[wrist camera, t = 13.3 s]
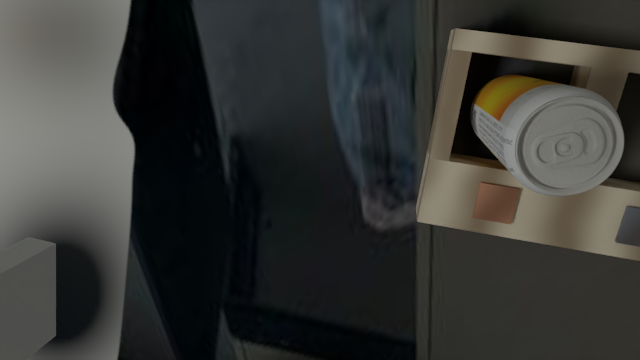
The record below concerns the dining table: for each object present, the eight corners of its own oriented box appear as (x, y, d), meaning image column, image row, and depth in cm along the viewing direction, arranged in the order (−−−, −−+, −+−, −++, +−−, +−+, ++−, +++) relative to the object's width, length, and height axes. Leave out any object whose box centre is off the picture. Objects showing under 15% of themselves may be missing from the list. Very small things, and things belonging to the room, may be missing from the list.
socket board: (415, 208, 42) (417, 222, 38) (451, 30, 38) (456, 28, 34) (682, 254, 39) (710, 274, 36) (754, 67, 35) (795, 69, 31)
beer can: (552, 136, 38) (642, 186, 24) (478, 155, 40) (521, 213, 26) (537, 64, 37) (622, 73, 23) (461, 87, 39) (496, 108, 24)
